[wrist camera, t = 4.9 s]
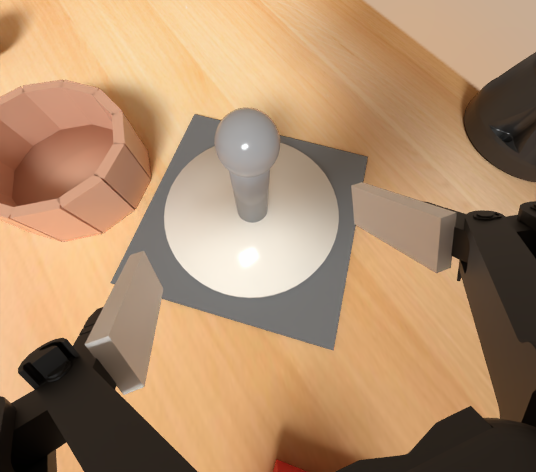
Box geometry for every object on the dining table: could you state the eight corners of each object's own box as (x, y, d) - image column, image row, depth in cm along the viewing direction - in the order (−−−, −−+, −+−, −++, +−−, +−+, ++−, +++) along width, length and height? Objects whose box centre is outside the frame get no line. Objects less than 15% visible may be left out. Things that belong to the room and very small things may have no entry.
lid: (203, 130, 31) (166, -1, 19) (348, 166, 30) (410, 51, 17) (138, 269, 25) (19, 211, 13) (316, 321, 24) (376, 315, 11)
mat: (195, 117, 32) (194, 114, 32) (366, 159, 31) (367, 156, 30) (113, 283, 25) (110, 283, 25) (331, 350, 23) (333, 350, 23)
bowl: (59, 113, 32) (15, 67, 26) (170, 141, 31) (150, 100, 25) (-18, 218, 27) (-92, 189, 21) (111, 256, 26) (70, 236, 20)
